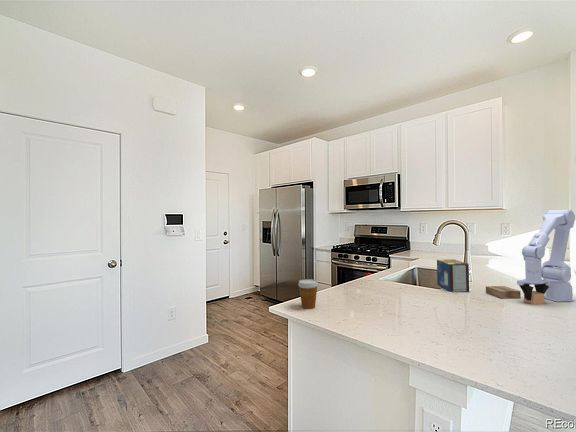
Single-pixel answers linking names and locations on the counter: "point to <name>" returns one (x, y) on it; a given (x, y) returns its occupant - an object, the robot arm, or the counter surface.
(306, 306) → the disposable coffee cup
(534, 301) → the terracotta block
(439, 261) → the protein box
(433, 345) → the counter surface
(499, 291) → the walnut base
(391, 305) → the counter surface
